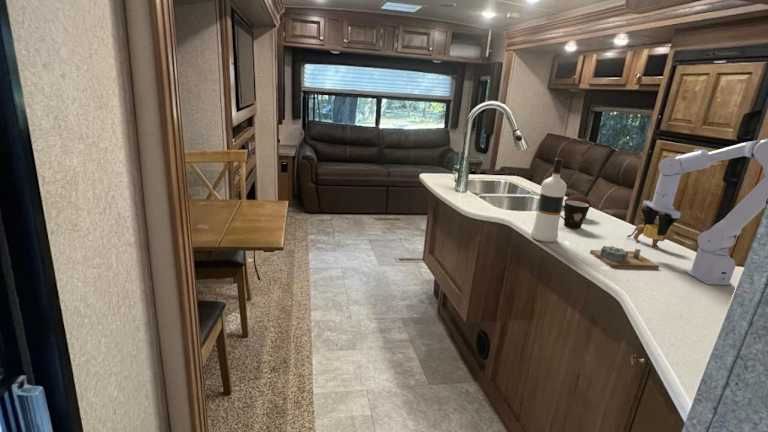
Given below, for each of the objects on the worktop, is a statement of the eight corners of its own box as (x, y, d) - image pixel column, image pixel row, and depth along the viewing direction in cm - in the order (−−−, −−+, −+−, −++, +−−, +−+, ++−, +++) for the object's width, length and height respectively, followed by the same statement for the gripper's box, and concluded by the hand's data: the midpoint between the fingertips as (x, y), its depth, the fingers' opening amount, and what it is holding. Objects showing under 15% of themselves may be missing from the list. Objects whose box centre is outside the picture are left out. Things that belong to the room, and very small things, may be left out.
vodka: (525, 235, 153) (539, 156, 144) (545, 233, 156) (560, 156, 147) (541, 243, 145) (558, 160, 136) (562, 242, 148) (579, 161, 139)
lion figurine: (670, 249, 149) (677, 226, 146) (664, 252, 146) (671, 228, 143) (629, 236, 160) (635, 215, 157) (623, 238, 157) (628, 216, 154)
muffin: (581, 222, 175) (586, 200, 172) (556, 215, 183) (561, 194, 180) (592, 218, 183) (597, 196, 180) (568, 211, 191) (572, 191, 188)
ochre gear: (666, 240, 136) (669, 230, 134) (650, 239, 135) (653, 229, 134) (654, 233, 141) (657, 224, 140) (639, 233, 140) (642, 223, 139)
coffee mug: (584, 226, 169) (589, 203, 166) (581, 231, 162) (587, 207, 159) (555, 220, 175) (560, 198, 172) (551, 225, 168) (556, 202, 165)
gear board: (658, 269, 129) (661, 257, 128) (611, 267, 127) (614, 255, 126) (633, 254, 141) (636, 243, 139) (589, 253, 139) (592, 241, 138)
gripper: (693, 199, 127) (681, 240, 131) (660, 188, 141) (649, 225, 145) (673, 198, 126) (661, 239, 130) (641, 187, 140) (631, 225, 144)
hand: (654, 232), depth 137 cm, fingers closed on ochre gear, 6 cm apart
